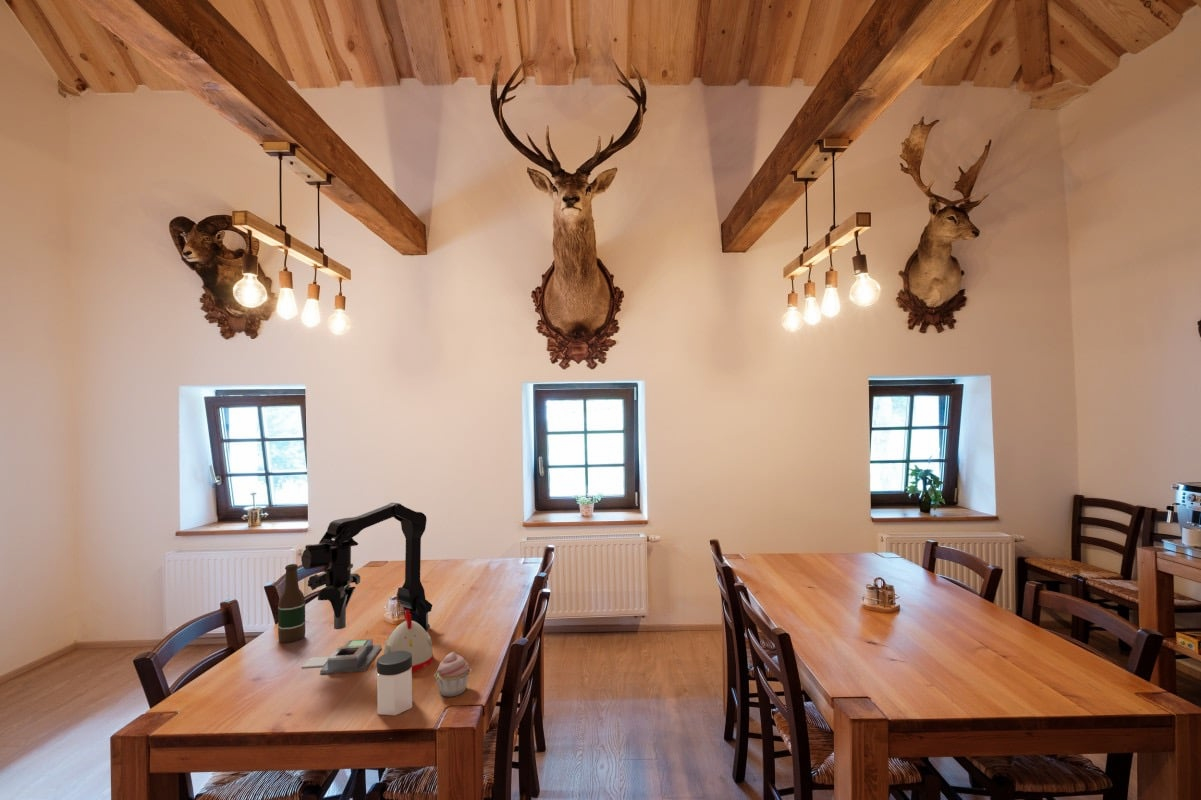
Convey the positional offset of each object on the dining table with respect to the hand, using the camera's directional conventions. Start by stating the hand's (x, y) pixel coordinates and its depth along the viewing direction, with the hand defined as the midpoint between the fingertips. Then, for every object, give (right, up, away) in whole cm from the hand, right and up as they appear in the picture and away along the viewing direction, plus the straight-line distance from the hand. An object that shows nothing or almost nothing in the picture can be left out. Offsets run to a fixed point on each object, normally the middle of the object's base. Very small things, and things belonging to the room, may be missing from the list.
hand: (339, 615), depth 166 cm
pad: (-5, -13, -3) cm, 14 cm away
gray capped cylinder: (0, -4, 0) cm, 4 cm away
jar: (+28, -11, -30) cm, 42 cm away
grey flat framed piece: (+5, -12, -2) cm, 13 cm away
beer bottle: (-23, -14, +16) cm, 31 cm away
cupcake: (+40, -11, -23) cm, 47 cm away
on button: (+4, -11, +2) cm, 12 cm away
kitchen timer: (+22, -12, -5) cm, 26 cm away
